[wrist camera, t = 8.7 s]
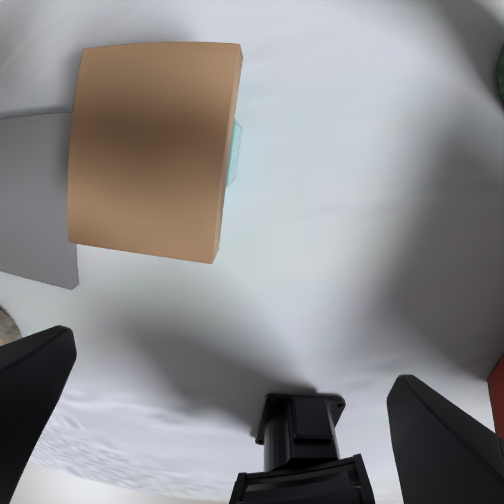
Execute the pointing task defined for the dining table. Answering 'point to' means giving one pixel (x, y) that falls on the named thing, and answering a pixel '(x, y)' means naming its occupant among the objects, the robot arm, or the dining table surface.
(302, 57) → the dining table surface
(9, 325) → the long grey stone
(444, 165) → the dining table surface
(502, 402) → the plant pot
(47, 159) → the mat
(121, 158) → the lid
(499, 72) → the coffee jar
